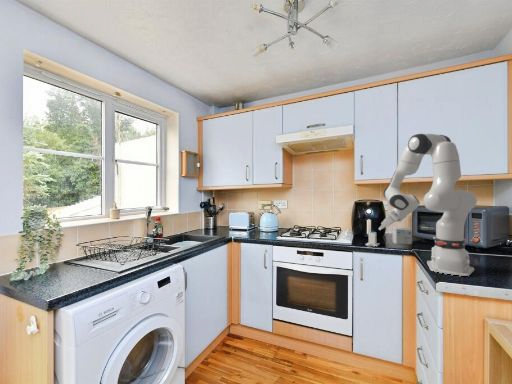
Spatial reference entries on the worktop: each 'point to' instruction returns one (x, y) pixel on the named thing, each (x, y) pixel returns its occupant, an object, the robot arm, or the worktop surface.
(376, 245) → the mounting pad
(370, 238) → the grey module
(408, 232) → the light bulb box
